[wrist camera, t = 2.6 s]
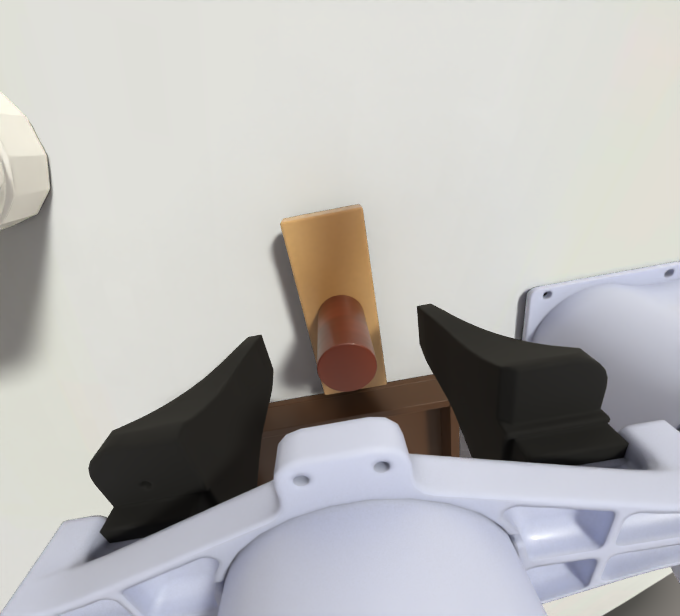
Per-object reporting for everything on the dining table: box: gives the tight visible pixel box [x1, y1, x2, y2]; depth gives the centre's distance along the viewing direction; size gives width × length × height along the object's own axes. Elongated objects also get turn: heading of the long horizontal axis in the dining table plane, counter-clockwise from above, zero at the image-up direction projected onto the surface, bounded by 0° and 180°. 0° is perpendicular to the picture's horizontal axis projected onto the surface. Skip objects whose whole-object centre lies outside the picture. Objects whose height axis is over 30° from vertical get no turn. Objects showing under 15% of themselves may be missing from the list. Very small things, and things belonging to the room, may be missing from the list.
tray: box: [257, 374, 459, 487], centre depth 24 cm, size 16×14×2 cm
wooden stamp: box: [280, 204, 387, 395], centre depth 15 cm, size 4×10×7 cm, turn 10°
